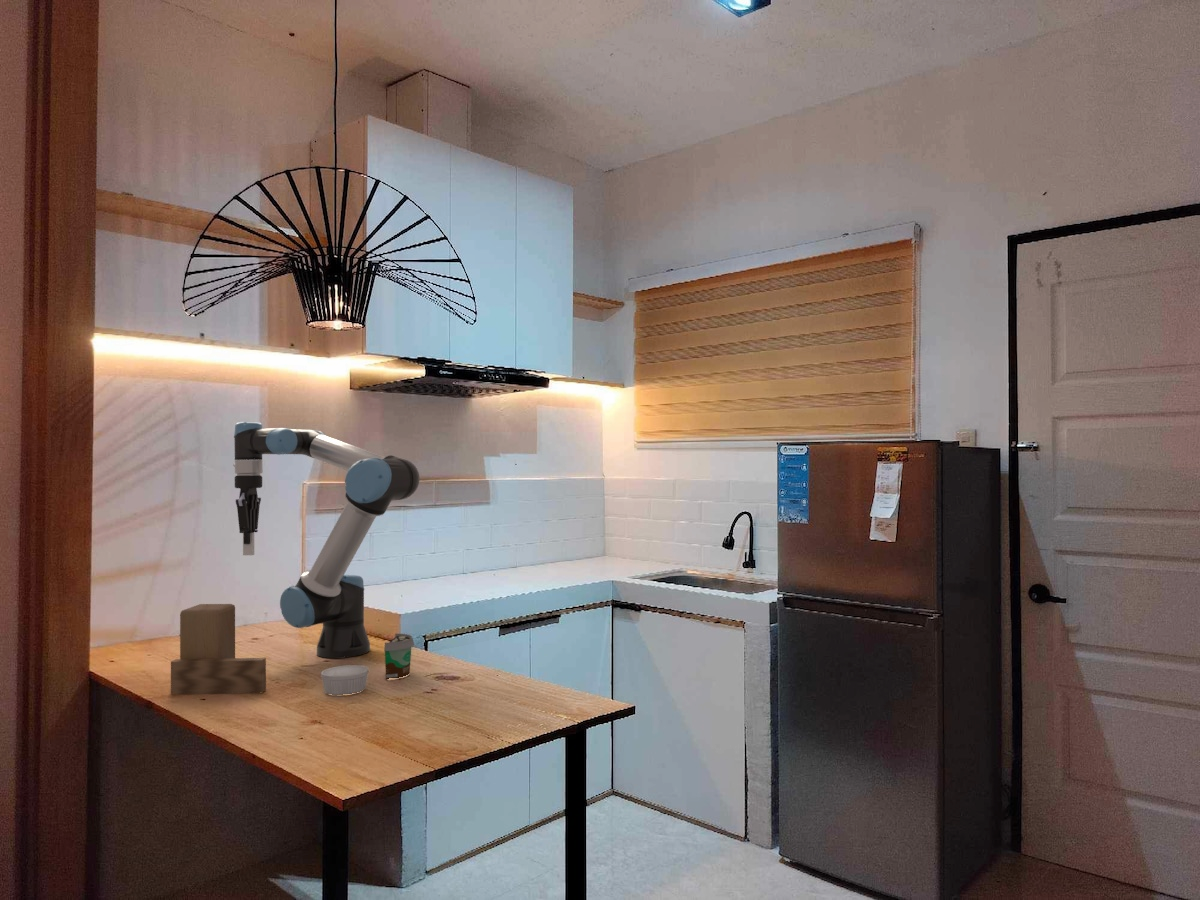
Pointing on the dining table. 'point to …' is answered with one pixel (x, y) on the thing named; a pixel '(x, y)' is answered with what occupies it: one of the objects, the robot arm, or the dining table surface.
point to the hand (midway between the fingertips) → (248, 554)
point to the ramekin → (345, 679)
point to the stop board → (218, 676)
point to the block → (207, 632)
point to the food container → (398, 656)
